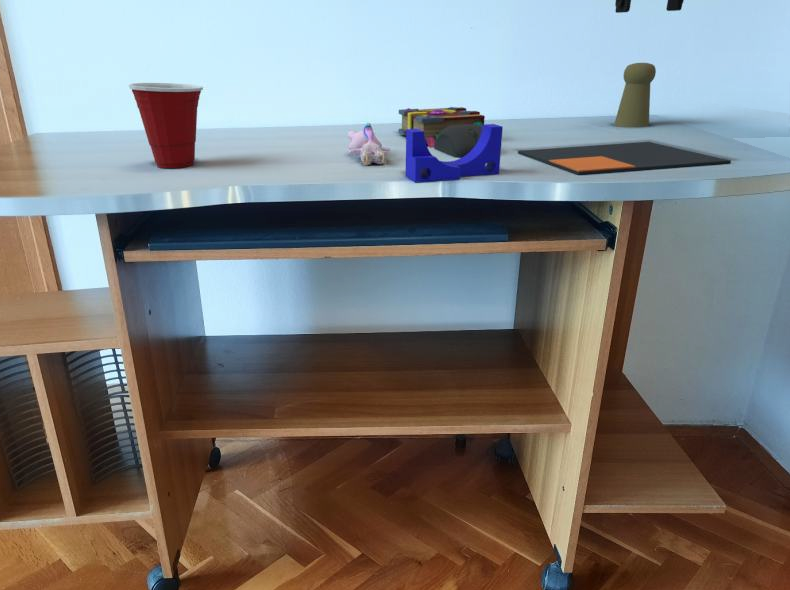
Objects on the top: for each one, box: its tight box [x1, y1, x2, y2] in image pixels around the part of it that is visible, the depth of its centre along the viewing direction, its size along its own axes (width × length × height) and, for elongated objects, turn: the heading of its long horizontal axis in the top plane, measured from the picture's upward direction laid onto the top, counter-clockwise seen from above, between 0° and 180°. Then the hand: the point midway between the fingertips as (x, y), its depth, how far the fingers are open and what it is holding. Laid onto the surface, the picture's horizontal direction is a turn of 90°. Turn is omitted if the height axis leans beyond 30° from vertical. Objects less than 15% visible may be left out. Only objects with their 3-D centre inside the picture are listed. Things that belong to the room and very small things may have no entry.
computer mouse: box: [433, 124, 482, 158], centre depth 101 cm, size 6×11×4 cm, turn 12°
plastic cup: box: [128, 82, 204, 169], centre depth 97 cm, size 11×11×12 cm
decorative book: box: [398, 106, 486, 148], centre depth 113 cm, size 11×16×5 cm
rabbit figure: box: [347, 122, 391, 167], centre depth 97 cm, size 6×6×15 cm
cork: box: [613, 62, 657, 130], centre depth 115 cm, size 6×6×11 cm
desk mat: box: [517, 141, 732, 176], centre depth 92 cm, size 22×18×1 cm
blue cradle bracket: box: [405, 123, 504, 183], centre depth 84 cm, size 12×4×6 cm, turn 100°
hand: (647, 11), depth 110 cm, fingers open, 9 cm apart
